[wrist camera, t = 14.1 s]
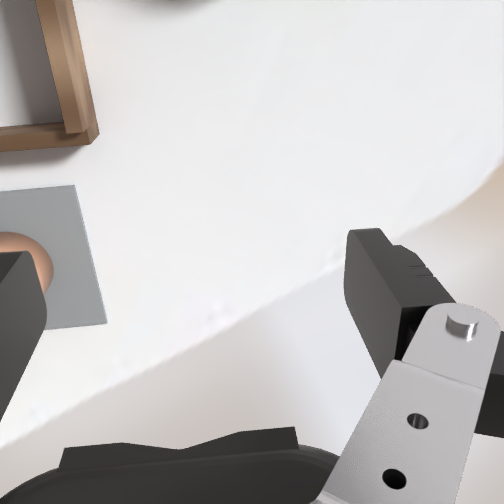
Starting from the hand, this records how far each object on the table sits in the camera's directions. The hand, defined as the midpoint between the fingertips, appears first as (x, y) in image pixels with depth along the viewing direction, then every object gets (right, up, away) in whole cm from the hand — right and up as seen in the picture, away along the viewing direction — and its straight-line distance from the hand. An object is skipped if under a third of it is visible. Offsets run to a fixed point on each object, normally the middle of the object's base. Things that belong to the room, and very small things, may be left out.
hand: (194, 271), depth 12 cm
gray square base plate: (-17, -1, +25) cm, 30 cm away
